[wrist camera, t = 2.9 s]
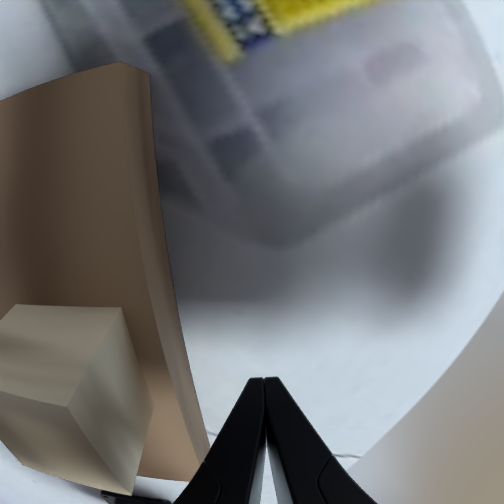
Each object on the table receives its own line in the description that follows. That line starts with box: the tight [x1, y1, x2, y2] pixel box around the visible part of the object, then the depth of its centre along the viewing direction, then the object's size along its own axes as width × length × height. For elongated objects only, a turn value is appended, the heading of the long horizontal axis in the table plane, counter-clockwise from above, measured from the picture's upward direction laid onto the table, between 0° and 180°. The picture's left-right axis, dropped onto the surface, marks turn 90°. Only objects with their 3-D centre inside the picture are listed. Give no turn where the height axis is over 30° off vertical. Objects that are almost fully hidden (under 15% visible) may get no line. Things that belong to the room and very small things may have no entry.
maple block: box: [0, 304, 154, 496], centre depth 8 cm, size 4×4×4 cm
